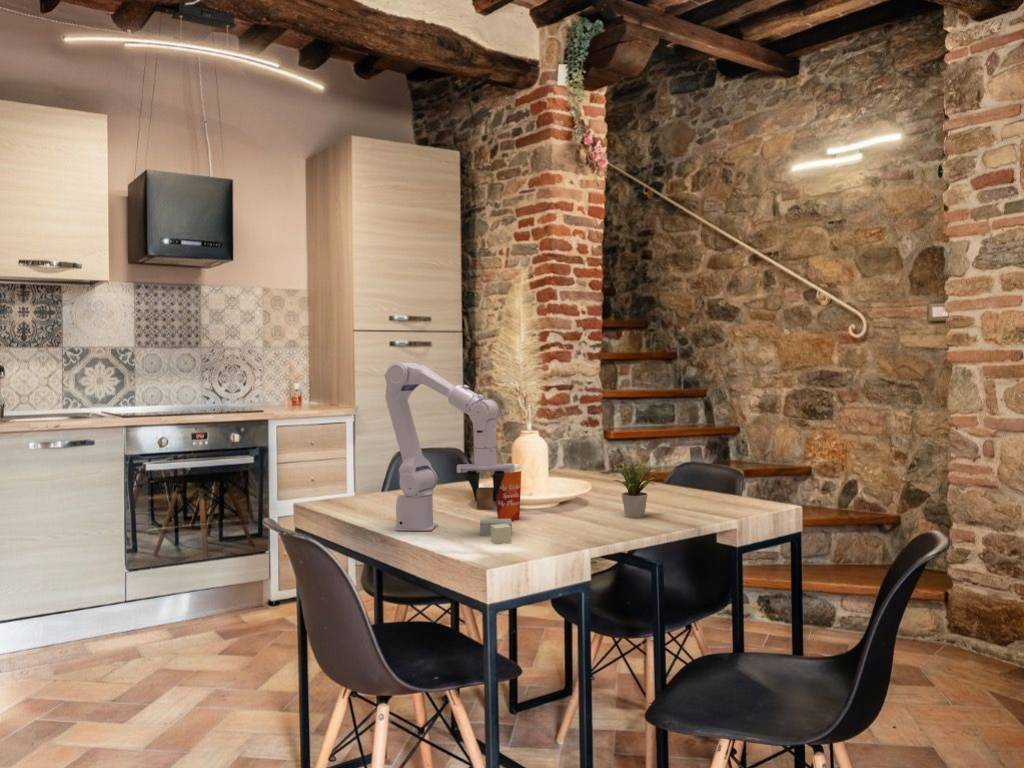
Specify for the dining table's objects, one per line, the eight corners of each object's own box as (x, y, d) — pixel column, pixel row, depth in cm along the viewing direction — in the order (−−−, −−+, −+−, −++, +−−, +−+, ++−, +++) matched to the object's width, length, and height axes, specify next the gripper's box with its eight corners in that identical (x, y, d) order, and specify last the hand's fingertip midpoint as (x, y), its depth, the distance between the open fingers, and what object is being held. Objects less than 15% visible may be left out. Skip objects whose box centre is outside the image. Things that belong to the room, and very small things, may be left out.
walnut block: (476, 509, 207) (476, 489, 206) (480, 506, 211) (479, 487, 210) (492, 509, 206) (492, 490, 206) (495, 506, 210) (495, 487, 210)
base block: (480, 537, 207) (479, 525, 207) (480, 530, 215) (480, 519, 215) (512, 536, 207) (511, 524, 207) (510, 530, 215) (510, 518, 215)
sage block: (495, 544, 197) (495, 528, 197) (490, 541, 201) (490, 525, 201) (511, 543, 198) (511, 526, 198) (506, 539, 202) (506, 523, 202)
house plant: (660, 522, 218) (659, 461, 218) (608, 521, 222) (607, 461, 221) (663, 512, 232) (662, 455, 232) (614, 511, 235) (613, 454, 235)
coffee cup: (498, 523, 223) (497, 467, 222) (490, 517, 230) (489, 464, 230) (527, 520, 225) (526, 466, 224) (519, 515, 233) (517, 462, 232)
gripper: (453, 449, 205) (454, 503, 206) (511, 449, 203) (512, 503, 203) (459, 446, 212) (460, 498, 213) (515, 445, 210) (516, 498, 210)
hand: (486, 500), depth 208 cm, fingers closed on walnut block, 4 cm apart
